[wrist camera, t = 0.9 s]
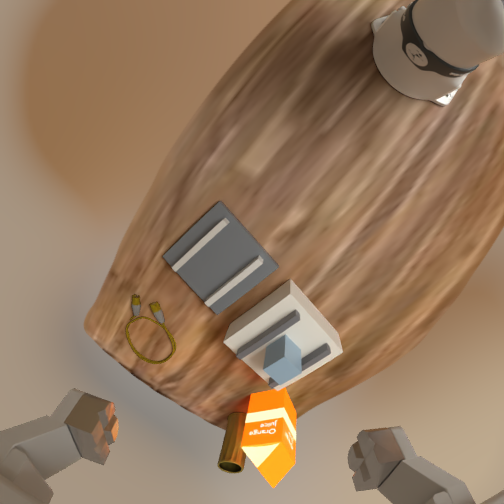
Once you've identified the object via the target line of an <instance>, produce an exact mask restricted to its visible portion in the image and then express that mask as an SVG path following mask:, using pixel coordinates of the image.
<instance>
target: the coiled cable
mask: <svg viewBox="0 0 504 504" xmlns="http://www.w3.org/2000/svg"><path fill="white" fill-rule="evenodd" d="M131 307H132V309H133V313H134V316H133V317H132V318H131V319H130V320H132V319H133V318H134V317H136V316H138V315H139V312H140V307H141V305H140V296H139V295H138V298H136V294H134V295H132V306H131ZM150 307H151V310H152V312H153V314H154V316H155V317H156V319H157V320H158V321H159V323H162V324H163V326H164V327H163V326H162V325H161V324H159V323H158V322H156V321H154V320H152V319H150V318H148V317H139V318H137V319H135V320H133V321H131V322H129V323H128V324H127V326H126V336H127V339H128V342H129V344H130V346H131V348H132V349H133V351H134V352H135V353H136V354H137V356H139V357H140V358H141V359H142V360H144V361H146V362H148V363H152V364H160V363H164V362H166V361H167V360H169V359H170V358H171V357H172V355H173V353H174V352H175V350H176V342H175V340H174V338H173V336H172V335H171V333H170V332H169V331H168V330H167V328H166V327H165V325H164V323H163V322H165V320H164V316H163V313H162V310H161V308H160V306H159V304H158V302H155V303H151V304H150ZM141 318H145V319H148V320H151V321H153V322H154V323H156V324H158V325H159V326H161V327H162V328H163V329H165V330H166V332H167V334H168V336H169V338H170V340H171V343H172V346H173V351H172V353H171V355H170V356H168V357H167V358H166V359H164V360H162V361H152V360H149V359H147V358H145V357H144V356H142V355H141V354H140V353H139V352H138V351H137V350H136V349H135V348H134V346H133V345H132V343H131V340H130V337H129V332H128V327H129V325H130V324H131V323H133V322H134V321H136V320H138V319H141ZM171 337H172V338H171ZM172 339H173V341H174V343H173V341H172ZM174 345H175V348H174ZM142 357H143V358H144V359H143V358H142ZM145 359H146V360H145ZM147 360H148V361H147Z"/></svg>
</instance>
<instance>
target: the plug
mask: <svg viewBox="0 0 504 504" xmlns="http://www.w3.org/2000/svg"><path fill="white" fill-rule="evenodd" d="M263 370H264V371H265V372H266V373H267V374H268V375H269V376H270V377H271V378H272V379H274V380H275V381H276V382H277V383H278V384H279V385H282V384H284V383H285V382H287V381H289V380H291V379H292V378H294V377H296V376H298V375H299V374H301V373H302V365H301V349H300V348H299V347H298V346H297V345H296V344H295V343H294V342H293V341H292V340H291V339H290V338H289V337H288V336H287V335H286V334H285V335H284V336H282V337H281V338H279V339H278V340H276V341H275V342H273V343H271V344H270V345H268V346H267V347H266V352H265V359H264V366H263Z"/></svg>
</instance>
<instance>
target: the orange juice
mask: <svg viewBox="0 0 504 504" xmlns="http://www.w3.org/2000/svg"><path fill="white" fill-rule="evenodd" d="M295 445H296V411H295V409H294V407H293V404H292V402H291V400H290V398H289V395H288V393H287V391H286V389H285V388H283V389H281V390H279V391H276V390H270V391H265V392H259V393H254V394H251V397H250V402H249V408H248V413H247V417H246V422H245V428H244V433H243V438H242V443H241V447H242V449H243V450H244V452H245V453H246V454H247V456H248V457H249V458H250V460H251V461H252V462H253V464H254V465H255V466H256V467H257V469H258V470H259V471H260V472H261V474H262V475H263V476H264V478H265V479H266V480H267V481H268V482H269V484H270V485H271V486H272V487H273V488H274V487H275V486H276V484H278V482H279V481H280V480H281V479H282V478H283V477H284V476H285V474H286V473H287V472H288V471H289V470H290V469H291V467H292V466H293V465H294V464H295V447H296V446H295Z"/></svg>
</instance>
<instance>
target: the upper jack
mask: <svg viewBox="0 0 504 504" xmlns="http://www.w3.org/2000/svg"><path fill="white" fill-rule="evenodd" d="M285 334H286V335H287V336H288V337H289V338H290V339H291V340H292V341H293V342H294V343H295V344H296V345H297V346H298V347H299V348H300V349H301V365H302V373H301V374H299V375H298V376H296V377H294V378H292V379H291V380H289V381H287V382H285V383H284V384H282V385H279V384H278V383H277V382H276V381H275V380H274V379H272V378H271V377H270V376H269V375H268V374H267V373H266V372H265V371H264V370H263V366H264V359H265V352H266V347H267V346H268V345H270V344H271V343H273V342H275V341H276V340H278V339H279V338H281V337H282V336H284V335H285ZM223 342H224V343H225V344H226V345H227V346H228V347H229V348H230V349H231V350H232V351H233V352H234V353H235V354H236V357H237V358H239V359H240V360H241V359H242V360H243V361H244V362H245V363H246V364H247V365H248V366H249V367H250V368H252V369H253V370H254V371H255V372H256V373H257V374H258V375H259V376H260V377H262V378H263V379H264V380H265V381H266V382H267V383H268V385H269V386H270V387H271V388H274V389H275V390H276V391H279V390H281V389H283V388H285V387H286V386H288V385H290V384H292V383H293V382H295V381H297V380H299V379H300V378H302V377H304V376H306V375H307V374H309V373H311V372H312V371H314V370H316V369H317V368H319V367H321V366H322V365H324V364H325V363H327V362H329V361H330V360H332V359H333V358H335V357H336V356H338V355H339V354H341V353H343V350H342V346H341V342H340V338H339V334H338V332H337V331H336V330H335V329H334V328H333V327H332V325H331V324H330V323H329V322H328V321H327V320H326V319H325V317H324V316H323V315H322V314H321V313H320V312H319V311H318V309H317V308H316V307H315V306H314V305H313V304H312V303H311V301H310V300H309V299H308V298H307V297H306V296H305V295H304V294H303V292H302V291H301V290H300V289H299V288H298V287H297V286H296V284H295V283H294V282H293V281H292V280H291V279H289V280H288V281H287V282H285V283H284V284H283V285H282V286H280V287H279V288H278V289H276V290H275V291H274V292H272V293H271V294H270V295H268V296H267V297H266V298H264V299H263V300H262V301H260V302H259V303H258V304H256V305H255V306H254V307H252V308H251V309H250V310H248V311H247V312H246V313H244V314H243V315H242V316H240V317H239V318H237V319H236V320H235V321H233V322H232V323H231V324H230V325H229V328H228V330H227V333H226V336H225V338H224V341H223Z"/></svg>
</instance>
